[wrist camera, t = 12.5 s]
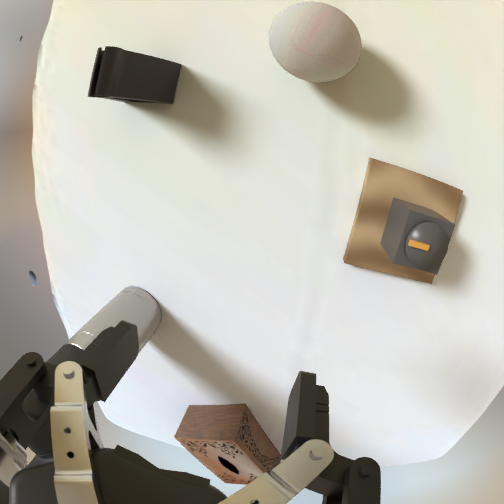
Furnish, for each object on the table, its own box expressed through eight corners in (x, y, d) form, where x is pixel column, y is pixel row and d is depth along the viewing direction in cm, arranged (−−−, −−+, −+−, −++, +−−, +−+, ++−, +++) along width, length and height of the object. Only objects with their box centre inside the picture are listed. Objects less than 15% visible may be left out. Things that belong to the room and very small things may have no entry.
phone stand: (182, 64, 31) (134, 42, 20) (173, 104, 34) (121, 95, 23) (130, 65, 32) (76, 51, 21) (123, 101, 35) (67, 97, 24)
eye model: (333, 103, 30) (342, 89, 21) (260, 67, 30) (242, 43, 21) (367, 45, 26) (384, 16, 17) (295, 11, 26) (289, -26, 17)
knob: (433, 210, 31) (460, 228, 23) (419, 253, 33) (441, 280, 26) (393, 197, 31) (414, 212, 24) (380, 242, 34) (395, 268, 27)
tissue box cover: (281, 455, 60) (276, 485, 51) (233, 455, 65) (225, 482, 56) (245, 402, 53) (234, 440, 44) (189, 404, 58) (174, 436, 48)
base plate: (427, 279, 36) (431, 283, 34) (343, 258, 37) (344, 263, 36) (458, 188, 30) (463, 190, 29) (369, 157, 32) (371, 158, 30)
